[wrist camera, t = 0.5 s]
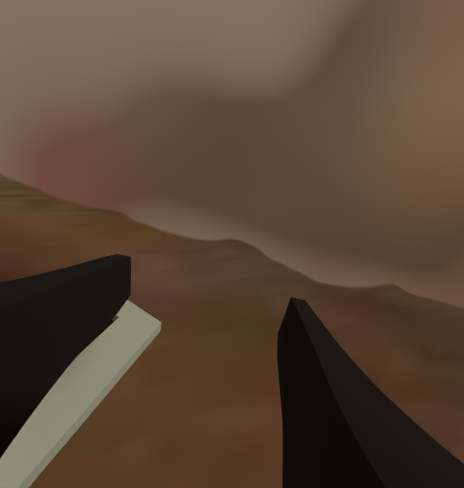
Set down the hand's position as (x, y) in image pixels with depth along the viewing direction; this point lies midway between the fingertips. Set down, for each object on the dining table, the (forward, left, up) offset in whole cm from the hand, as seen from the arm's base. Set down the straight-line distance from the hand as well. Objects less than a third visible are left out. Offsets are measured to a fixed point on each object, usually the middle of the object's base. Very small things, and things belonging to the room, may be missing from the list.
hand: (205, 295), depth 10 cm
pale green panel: (-5, +12, -18) cm, 22 cm away
